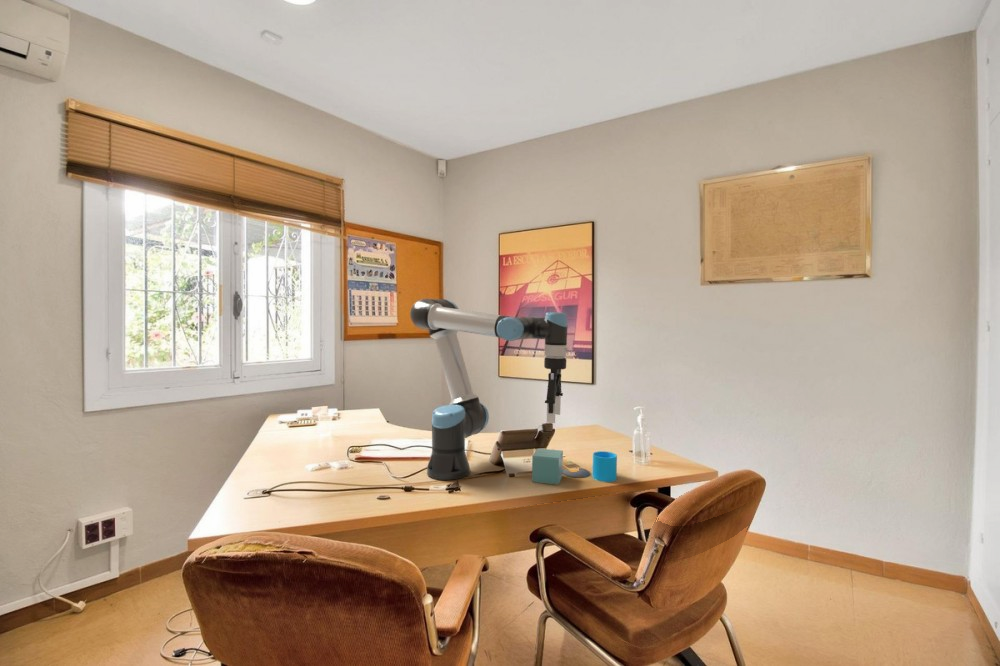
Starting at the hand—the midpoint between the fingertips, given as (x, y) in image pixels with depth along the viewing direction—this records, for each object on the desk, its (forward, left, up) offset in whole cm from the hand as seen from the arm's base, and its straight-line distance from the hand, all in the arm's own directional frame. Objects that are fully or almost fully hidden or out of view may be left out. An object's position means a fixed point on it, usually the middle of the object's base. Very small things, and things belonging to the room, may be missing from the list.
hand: (553, 418), depth 161 cm
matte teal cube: (-2, -2, -21) cm, 21 cm away
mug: (+17, +7, -21) cm, 28 cm away
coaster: (+7, +7, -21) cm, 23 cm away
